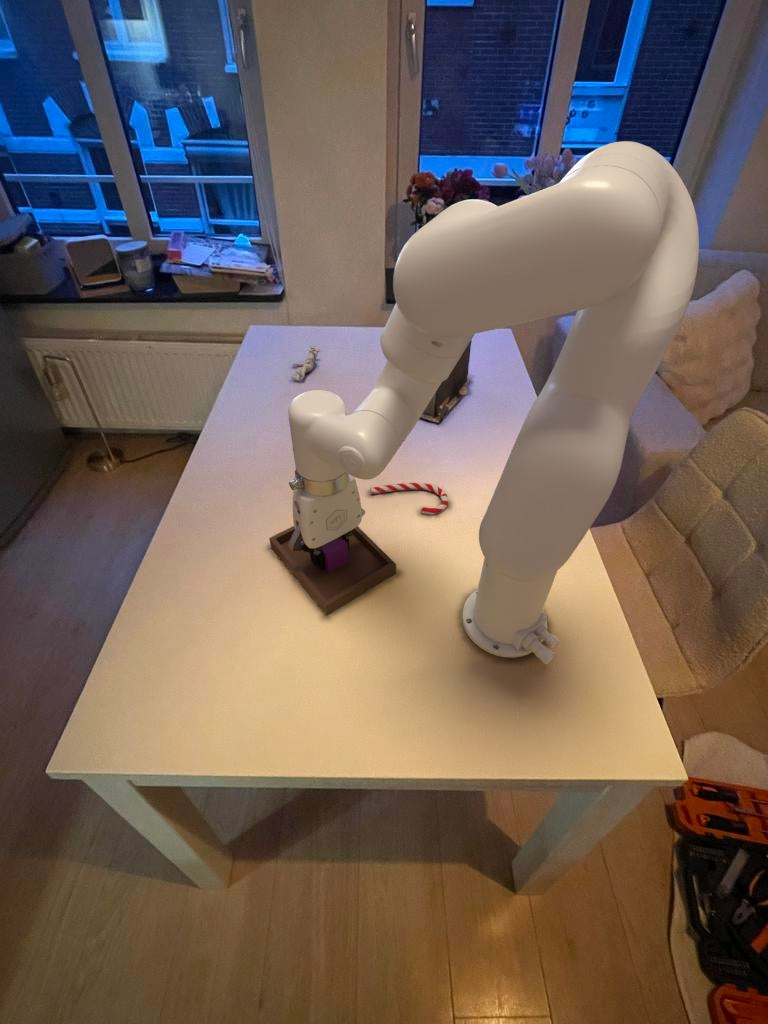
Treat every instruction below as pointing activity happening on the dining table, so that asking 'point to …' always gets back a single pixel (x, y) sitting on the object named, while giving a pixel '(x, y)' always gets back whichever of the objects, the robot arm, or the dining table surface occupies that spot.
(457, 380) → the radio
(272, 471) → the dining table surface
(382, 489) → the candy cane
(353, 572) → the tray
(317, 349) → the soldier figure
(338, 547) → the cube
